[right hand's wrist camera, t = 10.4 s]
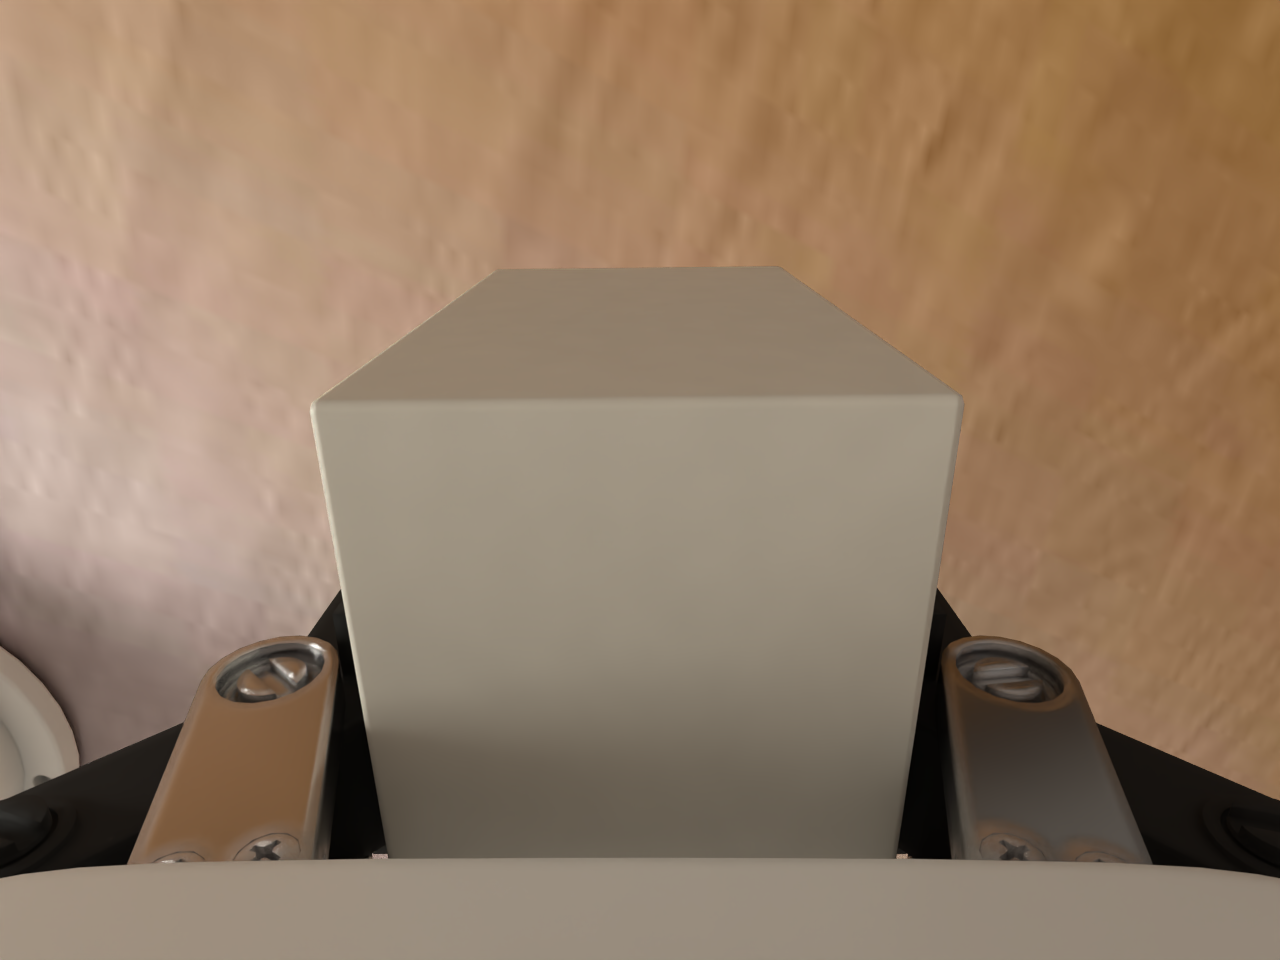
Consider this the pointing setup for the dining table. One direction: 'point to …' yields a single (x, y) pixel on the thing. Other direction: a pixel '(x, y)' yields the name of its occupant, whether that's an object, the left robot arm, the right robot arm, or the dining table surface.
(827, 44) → the dining table surface
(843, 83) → the dining table surface
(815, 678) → the beam
